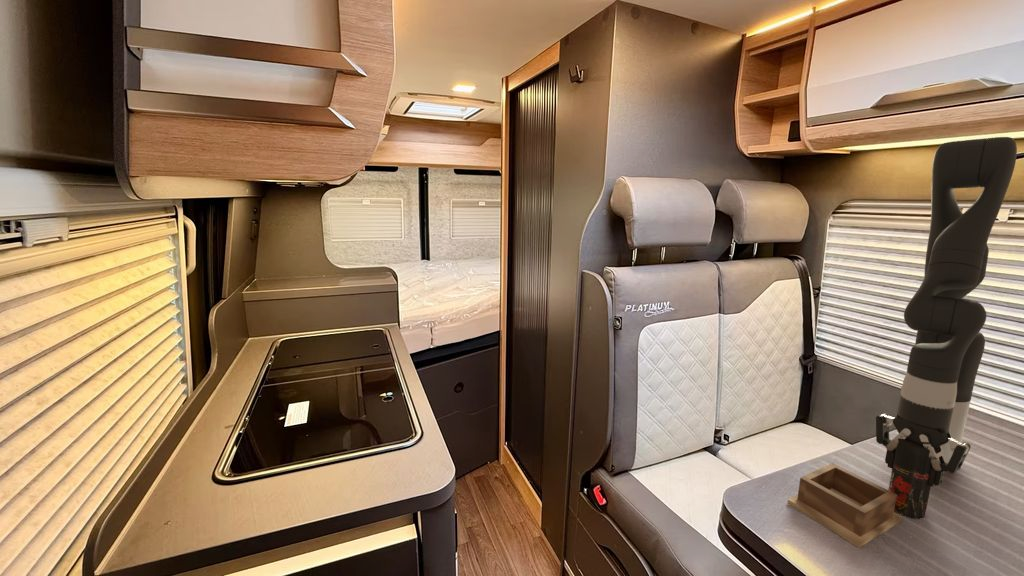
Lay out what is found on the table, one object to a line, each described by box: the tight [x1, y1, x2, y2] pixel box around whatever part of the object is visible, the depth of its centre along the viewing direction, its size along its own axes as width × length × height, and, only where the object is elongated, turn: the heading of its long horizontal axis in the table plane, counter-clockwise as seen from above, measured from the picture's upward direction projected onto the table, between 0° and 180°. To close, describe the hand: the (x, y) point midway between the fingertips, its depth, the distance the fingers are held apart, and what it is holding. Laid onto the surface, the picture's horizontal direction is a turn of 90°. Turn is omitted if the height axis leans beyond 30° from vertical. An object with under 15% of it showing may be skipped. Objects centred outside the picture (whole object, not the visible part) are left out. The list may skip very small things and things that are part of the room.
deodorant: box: [887, 439, 939, 520], centre depth 86 cm, size 6×6×15 cm
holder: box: [787, 462, 903, 549], centre depth 86 cm, size 15×13×6 cm
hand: (911, 475), depth 86 cm, fingers closed on deodorant, 6 cm apart
